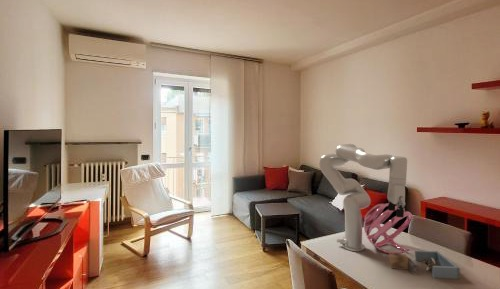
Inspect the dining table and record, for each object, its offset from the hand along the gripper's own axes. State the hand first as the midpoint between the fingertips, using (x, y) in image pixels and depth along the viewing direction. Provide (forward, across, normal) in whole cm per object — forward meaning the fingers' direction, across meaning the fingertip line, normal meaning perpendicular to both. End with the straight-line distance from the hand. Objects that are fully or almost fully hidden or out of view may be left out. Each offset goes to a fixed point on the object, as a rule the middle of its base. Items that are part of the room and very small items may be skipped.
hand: (395, 213), depth 135 cm
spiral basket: (+27, -18, +4) cm, 33 cm away
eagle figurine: (+26, +7, +15) cm, 31 cm away
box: (+26, +4, +18) cm, 32 cm away
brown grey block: (+26, +4, +1) cm, 27 cm away
